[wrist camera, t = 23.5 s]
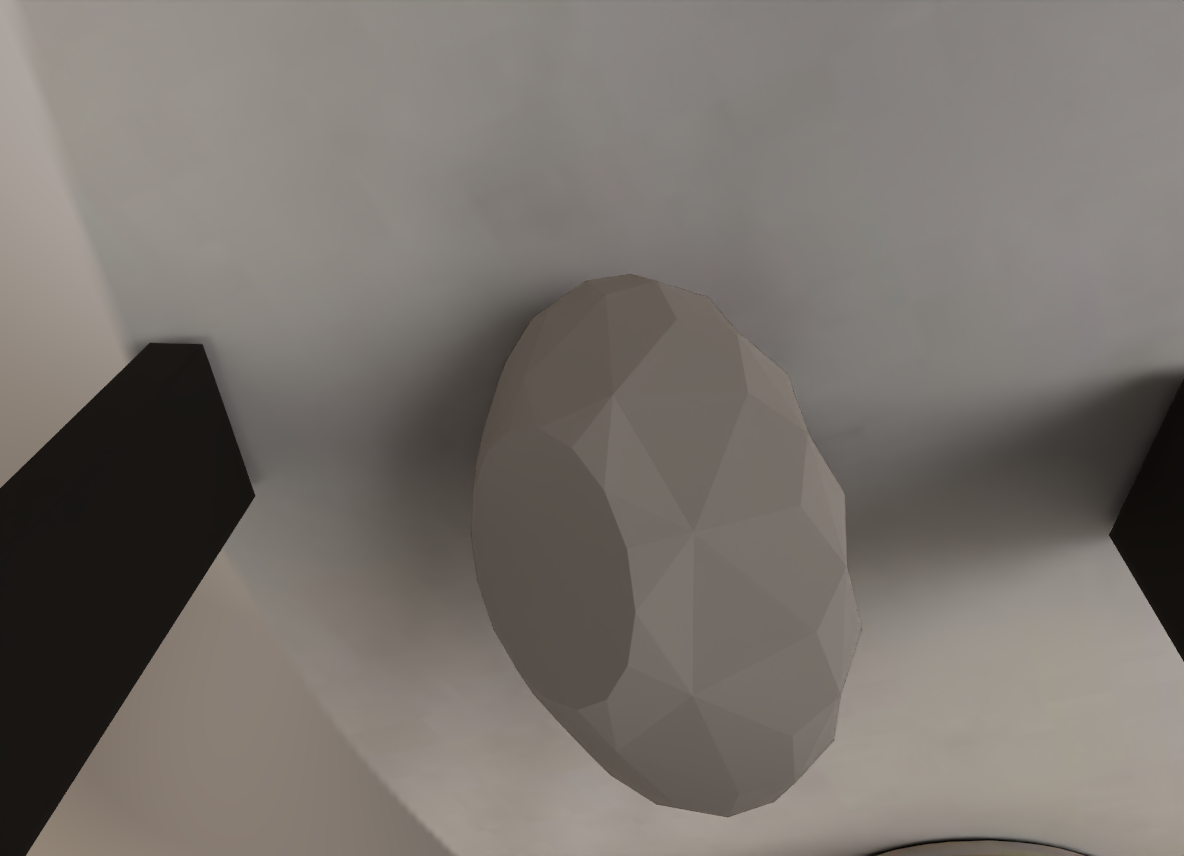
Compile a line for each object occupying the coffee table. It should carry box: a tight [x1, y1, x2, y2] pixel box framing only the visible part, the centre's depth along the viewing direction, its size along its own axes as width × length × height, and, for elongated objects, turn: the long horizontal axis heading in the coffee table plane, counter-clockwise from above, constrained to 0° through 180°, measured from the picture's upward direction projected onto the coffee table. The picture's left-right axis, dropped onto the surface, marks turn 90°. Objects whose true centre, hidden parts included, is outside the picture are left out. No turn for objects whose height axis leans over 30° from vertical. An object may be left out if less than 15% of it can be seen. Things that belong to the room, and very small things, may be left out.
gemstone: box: [471, 274, 862, 817], centre depth 10 cm, size 6×6×5 cm
